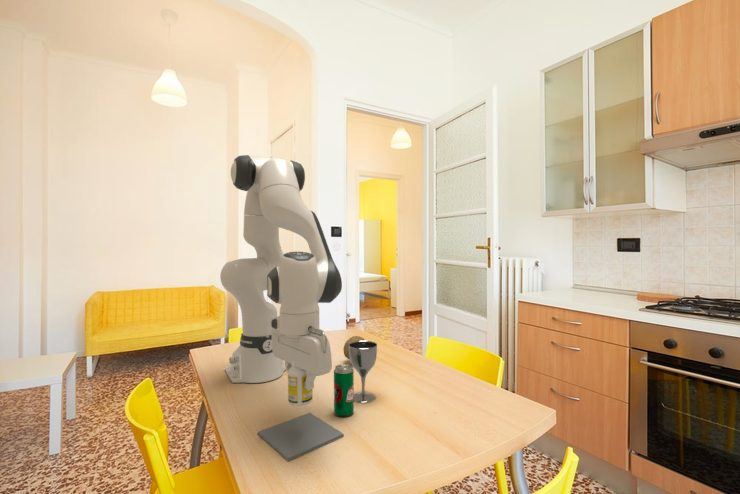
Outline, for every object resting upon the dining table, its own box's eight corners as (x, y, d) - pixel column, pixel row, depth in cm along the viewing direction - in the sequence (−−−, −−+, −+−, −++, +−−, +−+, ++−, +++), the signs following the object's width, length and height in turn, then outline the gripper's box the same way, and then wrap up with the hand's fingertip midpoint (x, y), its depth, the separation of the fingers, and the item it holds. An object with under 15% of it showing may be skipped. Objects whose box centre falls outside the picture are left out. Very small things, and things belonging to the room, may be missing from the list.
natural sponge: (362, 369, 126) (361, 340, 126) (339, 366, 130) (338, 338, 130) (371, 361, 135) (371, 334, 135) (349, 358, 138) (349, 332, 138)
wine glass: (356, 405, 98) (356, 349, 98) (344, 394, 105) (344, 342, 105) (382, 399, 101) (382, 346, 101) (369, 389, 108) (369, 339, 108)
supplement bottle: (313, 396, 85) (312, 354, 85) (311, 406, 80) (311, 361, 80) (289, 397, 85) (289, 355, 85) (286, 407, 79) (286, 362, 79)
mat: (257, 434, 83) (257, 431, 83) (310, 415, 92) (310, 412, 92) (288, 461, 73) (288, 458, 73) (343, 436, 82) (343, 433, 82)
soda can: (351, 418, 90) (350, 370, 90) (331, 416, 91) (331, 369, 91) (355, 409, 95) (355, 363, 95) (337, 408, 96) (337, 362, 96)
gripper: (338, 328, 77) (339, 394, 77) (289, 315, 92) (290, 370, 92) (313, 333, 73) (314, 403, 73) (266, 319, 88) (267, 376, 88)
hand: (300, 384), depth 82 cm, fingers closed on supplement bottle, 5 cm apart
